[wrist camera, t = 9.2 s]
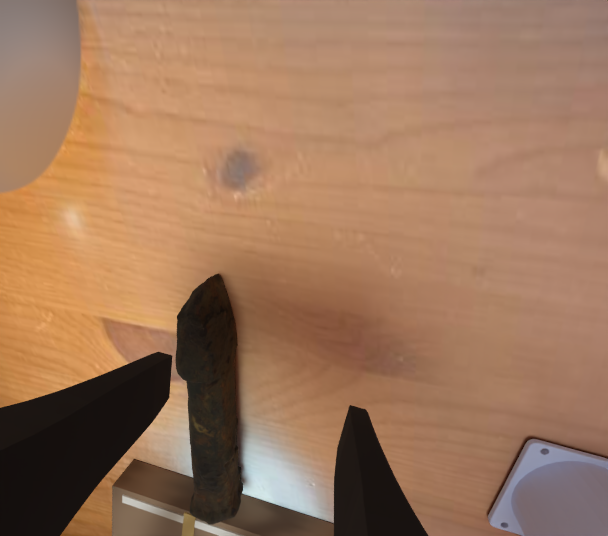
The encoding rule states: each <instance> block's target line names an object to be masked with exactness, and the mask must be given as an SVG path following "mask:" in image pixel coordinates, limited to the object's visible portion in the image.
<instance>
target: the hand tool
mask: <svg viewBox="0 0 608 536" xmlns="http://www.w3.org/2000/svg"><path fill="white" fill-rule="evenodd" d="M177 320H178V321H177V350H176V369H177V372H178V374H179V375H180V376H181V378H182V379H183V380H186V381H187V389H188V396H189V397H188V413H189V430H190V444H191V457H192V470H193V483H194V493H193V496H192V498H191V504H190V514H191V515H192V516H193V517H196V518H198V519H199V520H201V521H205V522H207V523H208V525H213V524H215V523H219V522H221V521H224V520H227V519H231V518H234V517H235V515H236V514H237V512H238V510H239V507H240V504H241V494H242V491H243V483H242V482H241V480H240V478H241V474H240V473H241V467H239V466H238V446H237V435H236V430H237V422H238V419H237V417H236V401H235V367H234V359H235V351H236V347H237V334H236V327H235V321H234V317H233V313H232V309H231V305H230V301H229V298H228V294H227V291H226V289H225V286H224V283H223V280H222V278H221V276H220V275H219V274H216V275H214V276H212V277H210V278H208V279H207V280H206V281H205V282H204V283H202V284H201V285H199V286H198V287H197V288H196V289H195V290H194V291H193V292H192V294H191V296H190V298H189V299H188V301H187V302H186V303H185V305H184V306H183V307H182V309H181V311H180V312H179V314H178V315H177Z"/></svg>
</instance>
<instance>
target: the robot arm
mask: <svg viewBox="0 0 608 536" xmlns="http://www.w3.org/2000/svg"><path fill="white" fill-rule="evenodd" d="M171 366H172V355H168V354H165V353H161V352H156V353H154V354H151V355H148V356H146V357H144V358H141V359H139V360H136V361H134V362H132V363H129V364H127V365H125V366H122V367H120V368H117V369H115V370H113V371H110V372H108V373H105V374H103V375H101V376H98V377H95V378H93V379H90V380H87V381H85V382H82V383H79V384H77V385H74V386H71V387H69V388H66V389H63V390H60V391H57V392H54V393H51V394H48V395H45V396H42V397H38V398H35V399H32V400H28V401H25V402H21V403H18V404H14V405H10V406H6V407H2V408H0V536H60V535H61V534H62V532H63V531H64V529H65V528H66V527H67V525H68V524H69V522H70V521H71V520H72V518H73V517H74V516H75V514H76V513H77V512H78V510H79V509H80V508H81V506H82V505H83V504H84V502H85V501H86V500H87V498H88V497H89V496H90V494H91V493H92V492H93V490H94V489H95V488H96V487H97V485H98V484H99V483H100V482H101V480H102V479H103V478H104V477H105V476H106V474H107V473H108V472H109V471H110V470H111V469H112V468H113V467H114V465H115V464H116V463H117V462H118V461H119V460H120V459H121V457H122V456H123V455H124V454H125V453H126V452H127V451H128V449H129V448H130V447H131V446H132V445H133V444H134V443H135V442H136V440H137V439H138V438H139V437H140V436H141V435H142V433H143V432H144V431H145V430H146V429H147V428H148V427H149V425H150V424H151V423H152V422H153V420H154V419H155V418H156V416H157V415H158V413H159V412H160V411H161V409H162V408H163V406H164V405H165V403H166V402H167V400H168V399H169V393H170V379H171ZM544 448H545V449H544ZM542 449H543V450H542ZM488 520H489V522H490V524H491V525H492V526H493V527H496V528H499V529H502V530H506V531H509V532H512V533H515V534H519V535H522V536H608V459H607V458H603V457H600V456H596V455H592V454H589V453H585V452H581V451H578V450H574V449H570V448H567V447H563V446H559V445H556V444H552V443H548V442H545V441H541V440H537V439H530V440H528V441H527V442H526V444H525V446H524V448H523V450H522V452H521V454H520V455H519V457H518V459H517V461H516V463H515V465H514V467H513V469H512V471H511V473H510V475H509V477H508V479H507V480H506V482H505V484H504V486H503V488H502V490H501V492H500V494H499V496H498V498H497V500H496V502H495V504H494V505H493V507H492V509H491V511H490V513H489V515H488ZM334 536H428V534H427V533H426V531H425V530H424V528H423V526H422V525H421V523H420V521H419V520H418V518H417V516H416V515H415V513H414V511H413V510H412V508H411V506H410V504H409V503H408V501H407V499H406V497H405V495H404V493H403V492H402V490H401V488H400V486H399V484H398V482H397V480H396V478H395V476H394V474H393V472H392V470H391V468H390V466H389V463H388V461H387V459H386V457H385V455H384V452H383V450H382V448H381V446H380V443H379V441H378V438H377V436H376V433H375V431H374V428H373V426H372V423H371V420H370V417H369V414H368V412H367V411H366V410H365V409H362V408H358V407H355V406H351V405H350V406H349V410H348V413H347V416H346V420H345V423H344V427H343V430H342V434H341V437H340V441H339V444H338V448H337V457H336V466H335V476H334Z"/></svg>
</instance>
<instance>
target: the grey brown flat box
mask: <svg viewBox="0 0 608 536" xmlns="http://www.w3.org/2000/svg"><path fill="white" fill-rule="evenodd" d="M193 493H194V483H193V478H190V477H187V476H184V475H181V474H178V473H175V472H172V471H169V470H166V469H163V468H159V467H156V466H153V465H150V464H147V463H144V462H141V461H138V460H135V459H134V460H133V461H132V462H131V464H130V465H129V466H128V467H127V468H126V470H125V471H124V472H123V473H122V475H121V476H120V477H119V478H118V479H117V481H116V482H115V483H114V484H113V486H112V536H334V524H332V523H329V522H326V521H323V520H320V519H317V518H314V517H311V516H308V515H305V514H302V513H298V512H295V511H292V510H289V509H286V508H283V507H280V506H277V505H274V504H271V503H268V502H264V501H261V500H258V499H255V498H252V497H249V496H246V495H243V494H241V504H240V507H239V510H238V512H237V514H236V515H235V517H234V518H231V519H227V520H224V521H221V522H219V523H215V524H213V525H208V523H207V522H205V521H201V520H199V519H198V518H196V517H193V516H192V515H191V514H190V504H191V498H192V496H193Z"/></svg>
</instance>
